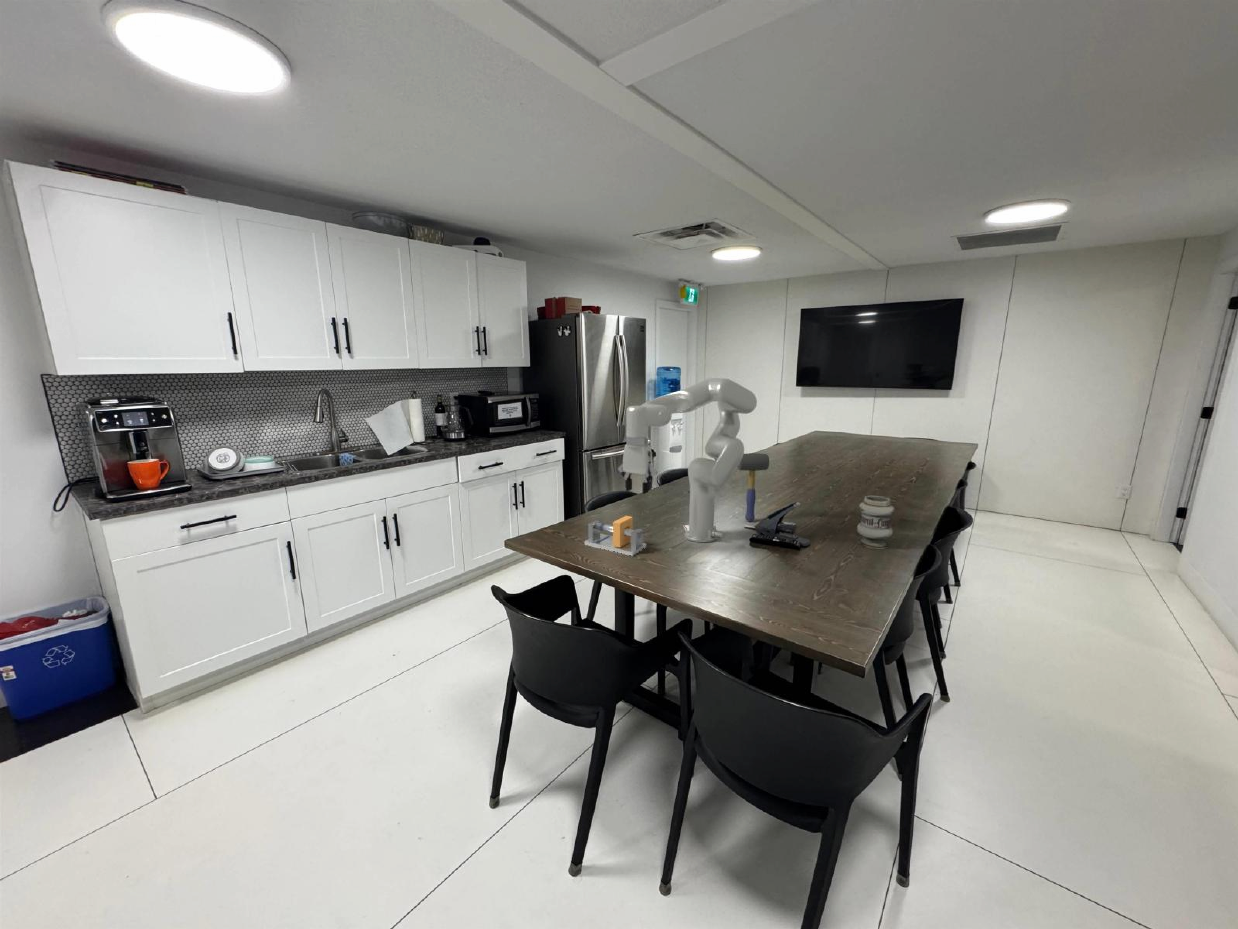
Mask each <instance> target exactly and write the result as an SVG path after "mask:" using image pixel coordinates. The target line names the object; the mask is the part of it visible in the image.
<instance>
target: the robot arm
mask: <svg viewBox="0 0 1238 929" xmlns="http://www.w3.org/2000/svg"><path fill="white" fill-rule="evenodd" d="M713 402H717V403H716V404H717V408H718V411H719V421H718V422H717V425H716V427H715V428H714V430H713V432H712V433H711V435H710V437H709V438H708V440H707V442H706V444H705V445H704V446H705V447H704V452H705V454H706V456H708V457H710V458H711V459H710V458H707V457H696V458H693V459H692V460H691V461H690V463H689V465H688V467H687V468H688V469H687V475H688V480H689V481H688V482H689V511H688V514H689V515H688V516H689V518H688V519H689V521H688V530H687V531H685V532H684V537H685V538H686V540H689V541H691V542H695V543H711V542H714V541H715V542H716V540H717V539H718V538H722V539H723V537H724V532H723V531H722V530H718V529H717V526H716V525H714V524H715V504H716V503H715V501H716V499H715V498H716V493H715V492H716V491H715V488H723V487H724V486H726V485H727V483H729V481H730V480H731V478H732V476H733V475H734V473H735V471H736V470H737V469H738V465H739V463H740V461H741V460H742V457H743V455H744V454H745V447H744V446H745V445H744V442H743V441H742V440H741V439H740V438H738V437H737V436H738V434H739V431H740V429H741V421H740V416H739V414H742V415H743V414H745V415H746V414H751V413H752V412H754V411H755V409H756V408H757V403H758V400H757V397H756V395H755V393H754V392H753V391H751V390H749V389H748V388H747V387H744V386H743V385H741V384H739V383H737V382H735V381H733V380H731V379H730V378H729V379H728V378H722V377H720V378H718V377H710V378H706V379H704V380H702V381H699V382H697V383H695V384H693V385H690V386H688V387H686V388H684V389H681V390H677V391H674V392H671V393H668V394H665V395H661V396H658V397H655V398H653V399H651V400H649V401H646V402H644V403H642V404H641V405H629V406H628V407H626V414H625V415H626V444H625V445H624V449H623V456H622V463H621V464H620V465H619V466H618V468H617V470H618V472H620V474H621V476H622V477H623V480H624V481H625V491H626V492H629V491H632V490H633V479H632V475H633V474H634V475H640V476H641V477H642V481H643V482H642V488H641V489H642V490H641V491H642V492H641V493H642V494H644V495H645V494H647V493H648V492H649V490H650V482H651V481H652V480H653V479H654V477H656V475H657V474H658V470H656V469H655V467H654V466H653V465H654V464H653V452H652V449H651V448H652V447H651V445H649V444H651V443H652V439H650V438H649V427H659V428H660V427H664V426H667V425H668V424H669V423H670V422H671V420H672V415H673V414H685V413H690V412H693V411H695V410H698V409H700V408H702V407H704V406H706V405H709V404H710V403H713ZM714 459H715V460H714Z"/></svg>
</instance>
